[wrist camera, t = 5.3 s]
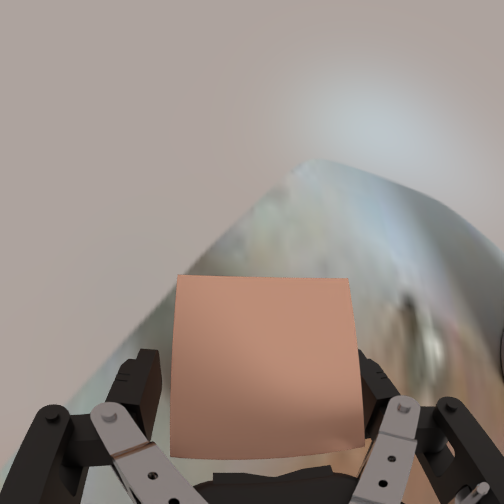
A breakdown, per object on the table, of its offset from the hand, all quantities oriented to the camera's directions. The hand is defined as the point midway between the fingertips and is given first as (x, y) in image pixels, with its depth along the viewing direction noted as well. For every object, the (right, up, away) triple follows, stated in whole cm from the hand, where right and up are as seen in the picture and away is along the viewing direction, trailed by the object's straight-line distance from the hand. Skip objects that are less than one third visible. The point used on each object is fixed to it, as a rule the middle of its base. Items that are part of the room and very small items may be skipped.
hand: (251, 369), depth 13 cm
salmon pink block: (0, -3, +4) cm, 5 cm away
